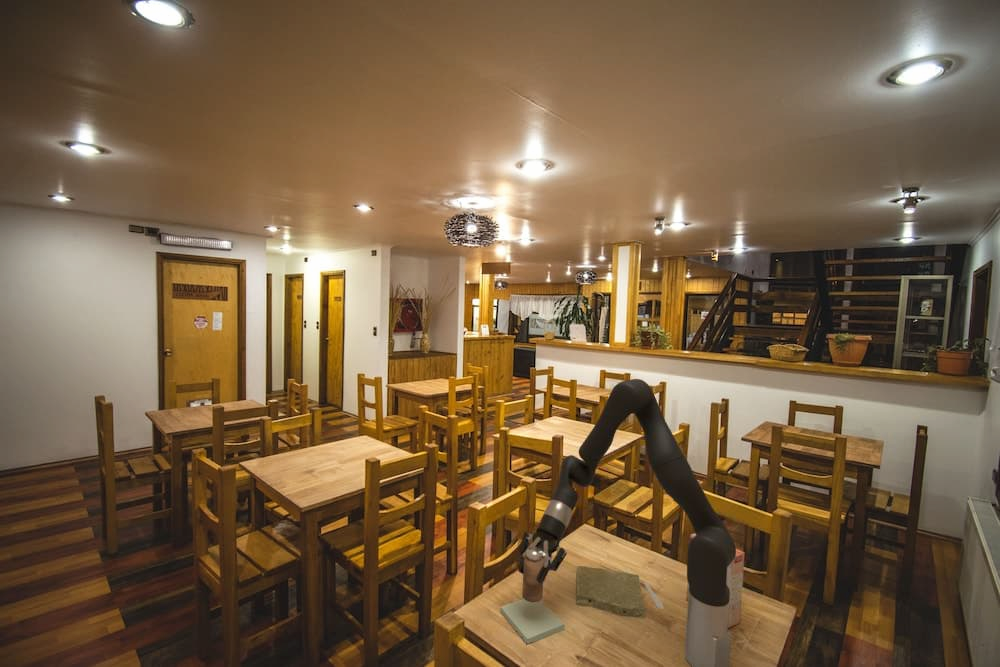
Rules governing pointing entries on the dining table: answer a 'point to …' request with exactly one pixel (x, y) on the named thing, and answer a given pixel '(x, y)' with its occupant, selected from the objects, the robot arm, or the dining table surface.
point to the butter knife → (654, 597)
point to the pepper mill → (532, 574)
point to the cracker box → (733, 586)
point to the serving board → (531, 619)
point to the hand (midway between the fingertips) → (529, 576)
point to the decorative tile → (609, 591)
